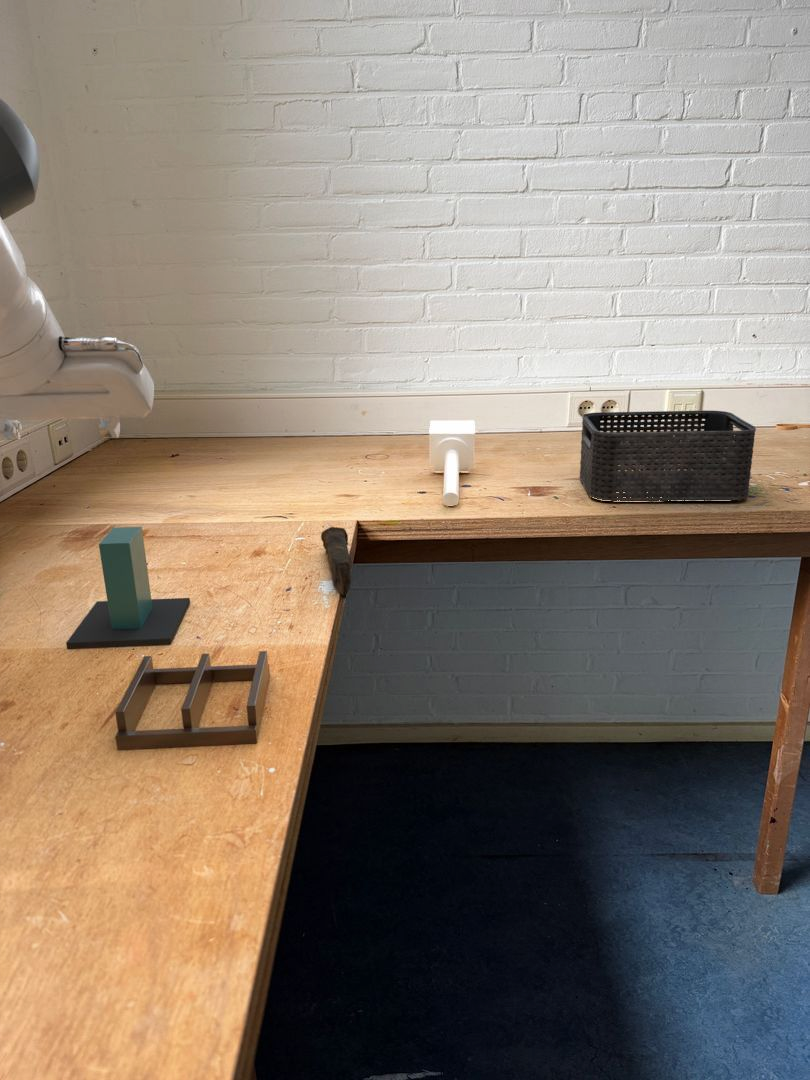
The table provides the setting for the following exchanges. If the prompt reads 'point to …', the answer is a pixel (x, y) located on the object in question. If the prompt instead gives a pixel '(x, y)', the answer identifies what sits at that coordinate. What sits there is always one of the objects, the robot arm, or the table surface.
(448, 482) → the paper towel holder
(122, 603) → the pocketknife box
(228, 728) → the slot rack
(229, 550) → the table surface
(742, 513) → the table surface
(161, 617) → the rubber mat
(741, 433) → the storage bin
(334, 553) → the hand tool
